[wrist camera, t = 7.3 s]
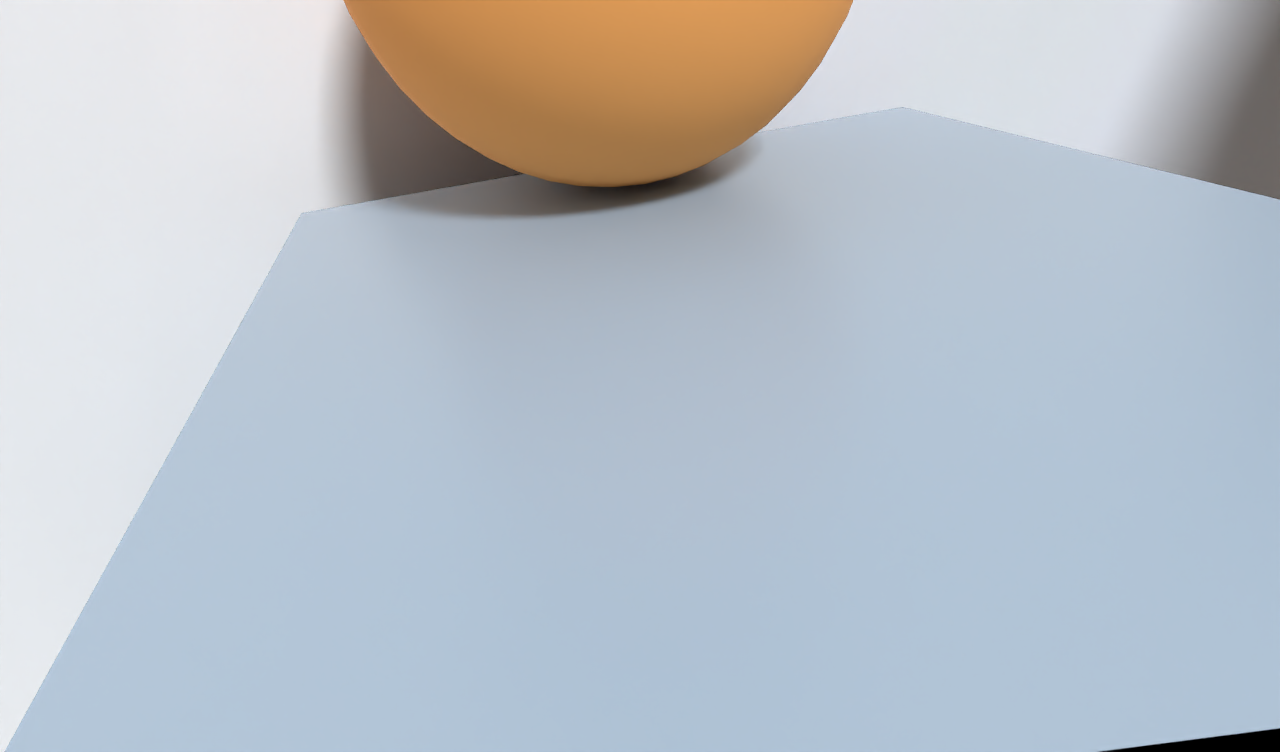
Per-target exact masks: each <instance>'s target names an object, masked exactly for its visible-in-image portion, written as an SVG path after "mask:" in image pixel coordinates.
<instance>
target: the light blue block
mask: <svg viewBox="0 0 1280 752" xmlns="http://www.w3.org/2000/svg"><path fill="white" fill-rule="evenodd" d="M5 752H1280V200H1279V199H1275V198H1271V197H1267V196H1263V195H1259V194H1255V193H1251V192H1247V191H1243V190H1239V189H1235V188H1231V187H1226V186H1222V185H1218V184H1214V183H1210V182H1206V181H1202V180H1198V179H1194V178H1190V177H1186V176H1182V175H1177V174H1173V173H1169V172H1165V171H1161V170H1157V169H1153V168H1149V167H1145V166H1141V165H1137V164H1133V163H1129V162H1124V161H1120V160H1116V159H1112V158H1108V157H1104V156H1100V155H1096V154H1092V153H1088V152H1084V151H1080V150H1075V149H1071V148H1067V147H1063V146H1059V145H1055V144H1051V143H1047V142H1043V141H1039V140H1035V139H1031V138H1027V137H1022V136H1018V135H1014V134H1010V133H1006V132H1002V131H998V130H994V129H990V128H986V127H982V126H978V125H973V124H969V123H965V122H961V121H957V120H953V119H949V118H945V117H941V116H937V115H933V114H929V113H925V112H920V111H916V110H912V109H908V108H904V107H900V108H895V109H889V110H883V111H878V112H872V113H866V114H861V115H855V116H849V117H844V118H838V119H832V120H827V121H821V122H815V123H810V124H804V125H798V126H793V127H787V128H781V129H776V130H770V131H764V132H759V133H755V134H754V135H753V136H751V137H750V138H749V139H748V140H746V141H745V142H744V143H742V144H741V145H739V146H737V147H736V148H734V149H732V150H730V151H728V152H727V153H725V154H723V155H721V156H720V157H718V158H716V159H714V160H713V161H711V162H709V163H707V164H705V165H704V166H701V167H699V168H696V169H693V170H691V171H688V172H686V173H683V174H681V175H678V176H676V177H672V178H668V179H664V180H659V181H655V182H651V183H647V184H640V185H630V186H620V187H593V186H575V185H570V184H564V183H558V182H552V181H547V180H544V179H540V178H537V177H534V176H531V175H527V174H521V175H515V176H509V177H504V178H498V179H492V180H487V181H481V182H475V183H470V184H464V185H458V186H453V187H447V188H441V189H436V190H430V191H424V192H419V193H413V194H407V195H402V196H396V197H390V198H385V199H379V200H373V201H368V202H362V203H356V204H351V205H345V206H339V207H334V208H328V209H322V210H317V211H311V212H305V213H301V215H300V217H299V219H298V221H297V222H296V224H295V226H294V228H293V230H292V232H291V233H290V235H289V237H288V239H287V241H286V242H285V244H284V246H283V248H282V250H281V251H280V253H279V255H278V257H277V259H276V261H275V262H274V264H273V266H272V268H271V270H270V271H269V273H268V275H267V277H266V279H265V281H264V282H263V284H262V286H261V288H260V290H259V291H258V293H257V295H256V297H255V299H254V300H253V302H252V304H251V306H250V308H249V310H248V311H247V313H246V315H245V317H244V319H243V320H242V322H241V324H240V326H239V328H238V329H237V331H236V333H235V335H234V337H233V339H232V340H231V342H230V344H229V346H228V348H227V349H226V351H225V353H224V355H223V357H222V358H221V360H220V362H219V364H218V366H217V368H216V369H215V371H214V373H213V375H212V377H211V378H210V380H209V382H208V384H207V386H206V387H205V389H204V391H203V393H202V395H201V397H200V398H199V400H198V402H197V404H196V406H195V407H194V409H193V411H192V413H191V415H190V416H189V418H188V420H187V422H186V424H185V426H184V427H183V429H182V431H181V433H180V435H179V436H178V438H177V440H176V442H175V444H174V446H173V447H172V449H171V451H170V453H169V455H168V456H167V458H166V460H165V462H164V464H163V465H162V467H161V469H160V471H159V473H158V475H157V476H156V478H155V480H154V482H153V484H152V485H151V487H150V489H149V491H148V493H147V494H146V496H145V498H144V500H143V502H142V504H141V505H140V507H139V509H138V511H137V513H136V514H135V516H134V518H133V520H132V522H131V523H130V525H129V527H128V529H127V531H126V533H125V534H124V536H123V538H122V540H121V542H120V543H119V545H118V547H117V549H116V551H115V552H114V554H113V556H112V558H111V560H110V562H109V563H108V565H107V567H106V569H105V571H104V572H103V574H102V576H101V578H100V580H99V581H98V583H97V585H96V587H95V589H94V591H93V592H92V594H91V596H90V598H89V600H88V601H87V603H86V605H85V607H84V609H83V611H82V612H81V614H80V616H79V618H78V620H77V621H76V623H75V625H74V627H73V629H72V630H71V632H70V634H69V636H68V638H67V640H66V641H65V643H64V645H63V647H62V649H61V650H60V652H59V654H58V656H57V658H56V659H55V661H54V663H53V665H52V667H51V669H50V670H49V672H48V674H47V676H46V678H45V679H44V681H43V683H42V685H41V687H40V688H39V690H38V692H37V694H36V696H35V698H34V699H33V701H32V703H31V705H30V707H29V708H28V710H27V712H26V714H25V716H24V717H23V719H22V721H21V723H20V725H19V727H18V728H17V730H16V732H15V734H14V736H13V737H12V739H11V741H10V743H9V745H8V746H7V748H6V750H5Z"/></svg>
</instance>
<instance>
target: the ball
mask: <svg viewBox="0 0 1280 752" xmlns="http://www.w3.org/2000/svg"><path fill="white" fill-rule="evenodd" d="M344 2H345V5H346V7H347V9H348V11H349V14H350V15H351V17H352V19H353V20H354V22H355V24H356V25H357V27H358V29H359V30H360V32H361V34H362V35H363V37H364V39H365V40H366V42H367V44H368V45H369V47H370V49H371V50H372V52H373V53H374V55H375V56H376V58H377V59H378V61H379V62H380V63H381V64H382V66H383V67H384V68H385V70H386V71H387V72H388V74H389V75H390V76H391V77H392V79H393V80H394V81H395V83H396V84H397V85H398V86H399V88H400V89H401V90H402V91H403V92H404V93H405V94H406V95H407V96H408V97H409V98H410V99H411V100H412V101H413V102H414V103H415V104H416V105H417V106H418V107H419V108H420V109H421V110H422V111H423V112H424V113H425V114H426V115H427V116H428V117H429V118H430V119H432V120H433V121H434V122H435V123H437V124H438V125H439V126H440V127H442V128H443V129H444V130H445V131H447V132H448V133H449V134H451V135H452V136H453V137H454V138H456V139H457V140H459V141H461V142H462V143H464V144H466V145H467V146H469V147H471V148H472V149H474V150H475V151H477V152H479V153H480V154H482V155H484V156H485V157H487V158H489V159H491V160H493V161H495V162H498V163H500V164H502V165H504V166H506V167H509V168H511V169H513V170H515V171H518V172H521V173H524V174H527V175H531V176H534V177H537V178H540V179H544V180H547V181H552V182H558V183H564V184H570V185H575V186H593V187H620V186H630V185H640V184H647V183H651V182H655V181H659V180H664V179H668V178H672V177H676V176H678V175H681V174H683V173H686V172H688V171H691V170H693V169H696V168H699V167H701V166H704V165H705V164H707V163H709V162H711V161H713V160H714V159H716V158H718V157H720V156H721V155H723V154H725V153H727V152H728V151H730V150H732V149H734V148H736V147H737V146H739V145H741V144H742V143H744V142H745V141H746V140H748V139H749V138H750V137H751V136H753V135H754V134H755V133H757V132H758V131H759V130H761V129H762V128H763V127H764V126H766V125H767V124H768V123H769V122H770V121H771V120H772V119H773V118H774V117H775V116H776V115H777V114H778V113H779V112H780V111H781V110H782V109H783V108H784V107H785V106H786V105H787V104H788V103H789V102H790V101H791V100H792V98H793V97H794V96H795V95H796V94H797V93H798V92H799V91H800V90H801V89H802V87H803V86H804V85H805V83H806V82H807V81H808V79H809V78H810V77H811V75H812V74H813V73H814V71H815V70H816V69H817V67H818V66H819V65H820V63H821V61H822V60H823V58H824V56H825V54H826V53H827V51H828V49H829V47H830V46H831V44H832V42H833V40H834V39H835V37H836V35H837V33H838V31H839V30H840V28H841V26H842V24H843V22H844V21H845V19H846V17H847V15H848V12H849V10H850V7H851V5H852V2H853V0H344Z"/></svg>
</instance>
